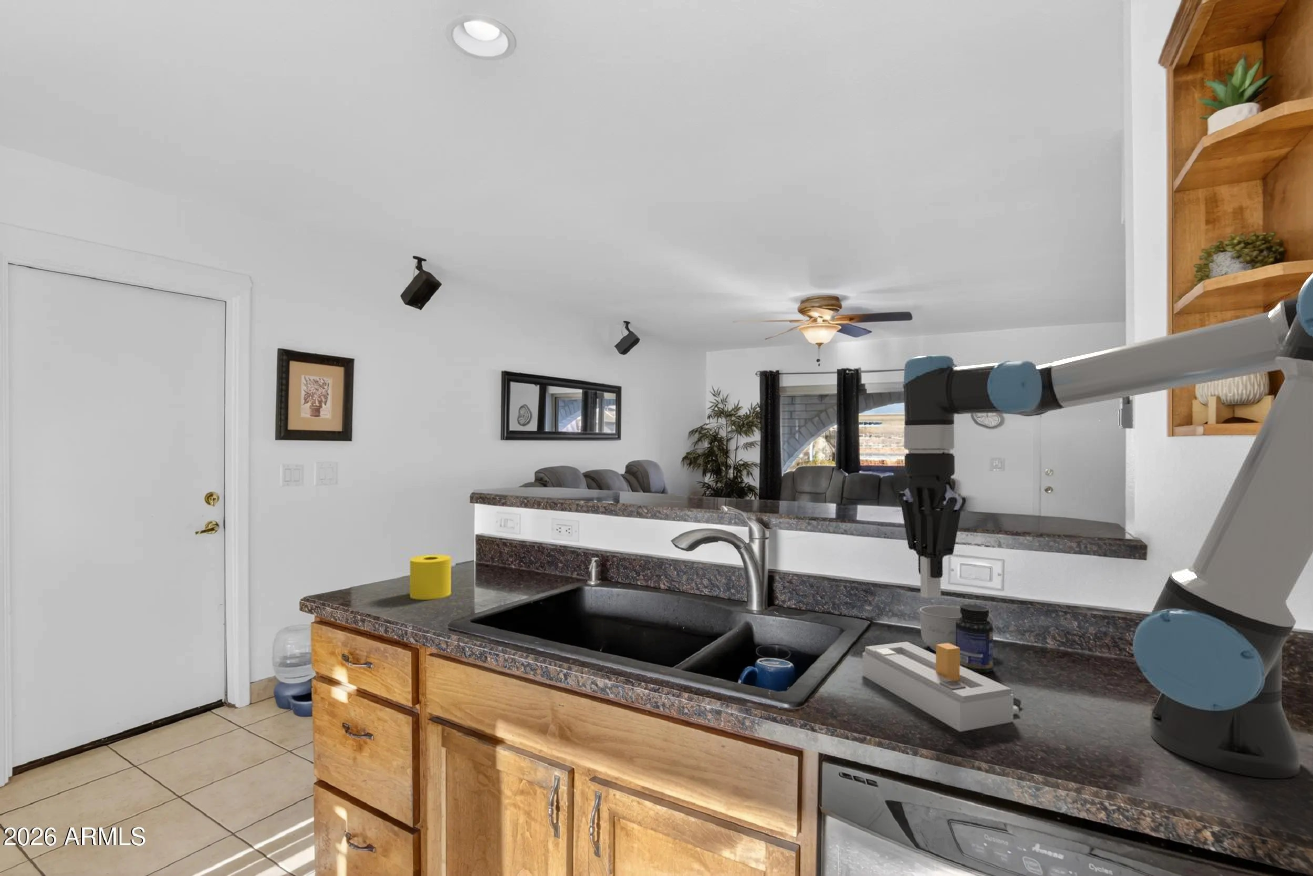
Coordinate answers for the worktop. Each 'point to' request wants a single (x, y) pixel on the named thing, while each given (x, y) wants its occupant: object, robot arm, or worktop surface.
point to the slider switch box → (938, 687)
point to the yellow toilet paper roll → (430, 577)
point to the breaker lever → (948, 661)
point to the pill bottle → (975, 638)
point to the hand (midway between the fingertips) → (930, 596)
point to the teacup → (941, 624)
